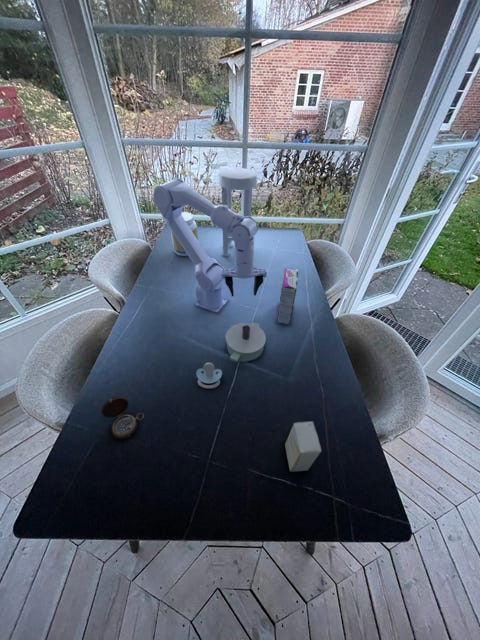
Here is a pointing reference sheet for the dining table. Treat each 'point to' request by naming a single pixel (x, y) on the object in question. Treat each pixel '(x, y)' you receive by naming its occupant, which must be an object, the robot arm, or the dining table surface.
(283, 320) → the candy bar box
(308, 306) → the dining table surface
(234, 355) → the grey-green ring with tabs
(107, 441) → the dining table surface
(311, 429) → the cosmetic box
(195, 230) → the supplement tub
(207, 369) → the pacifier
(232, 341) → the lid
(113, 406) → the compass
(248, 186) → the stool
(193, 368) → the dining table surface
